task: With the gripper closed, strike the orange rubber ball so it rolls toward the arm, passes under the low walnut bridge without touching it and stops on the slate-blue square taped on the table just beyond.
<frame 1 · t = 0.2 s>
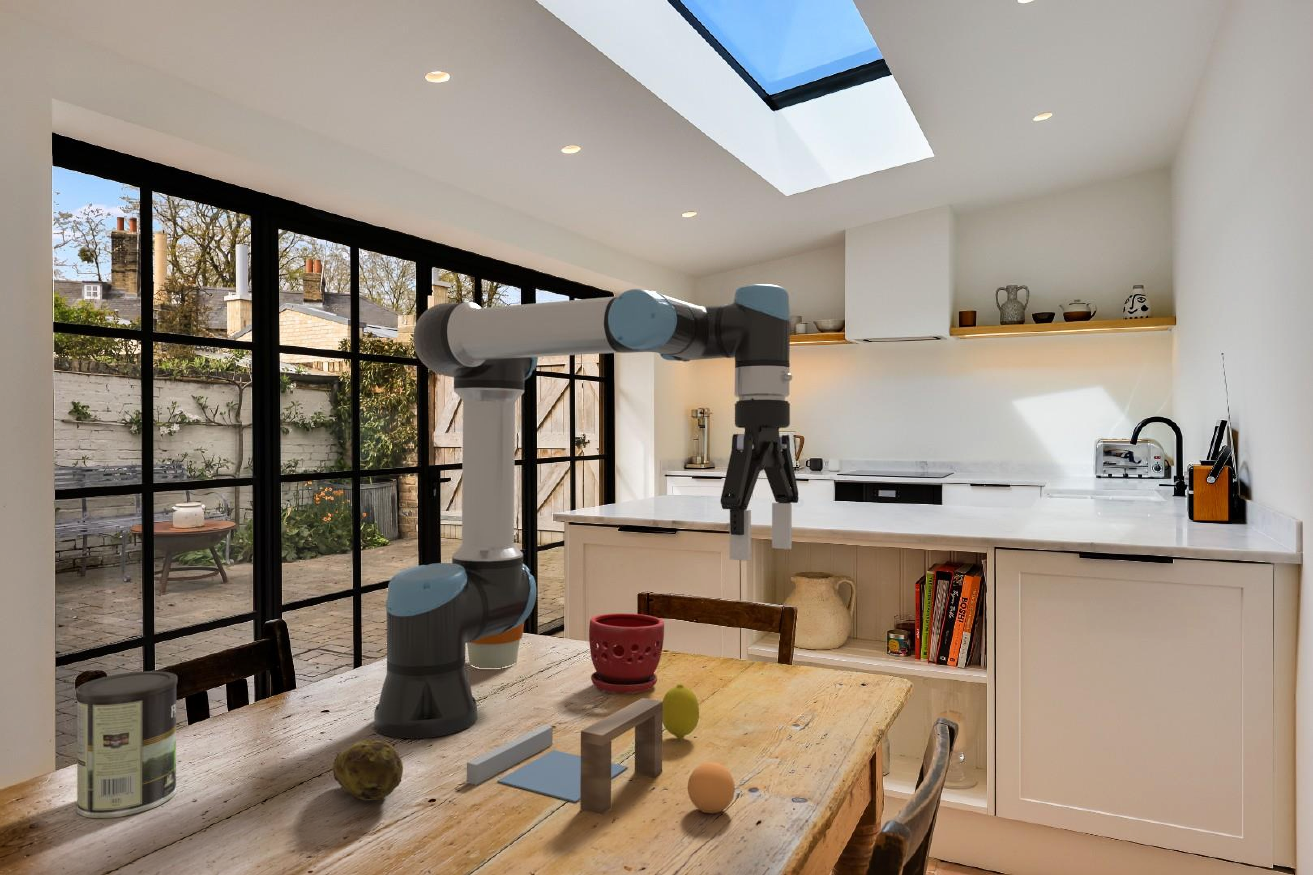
hand: (762, 554, 115), 28 cm above the table, tool pointing down, fingers open, 13 cm apart
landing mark: (564, 774, 108), on the table
bridge: (623, 789, 104), on the table
stopper: (512, 762, 112), on the table
ball: (711, 787, 98), on the table
lemon: (680, 740, 121), on the table
potato: (366, 802, 100), on the table
coffee can: (127, 801, 100), on the table
plant pot: (626, 688, 147), on the table
reusable coffee cup: (493, 664, 161), on the table
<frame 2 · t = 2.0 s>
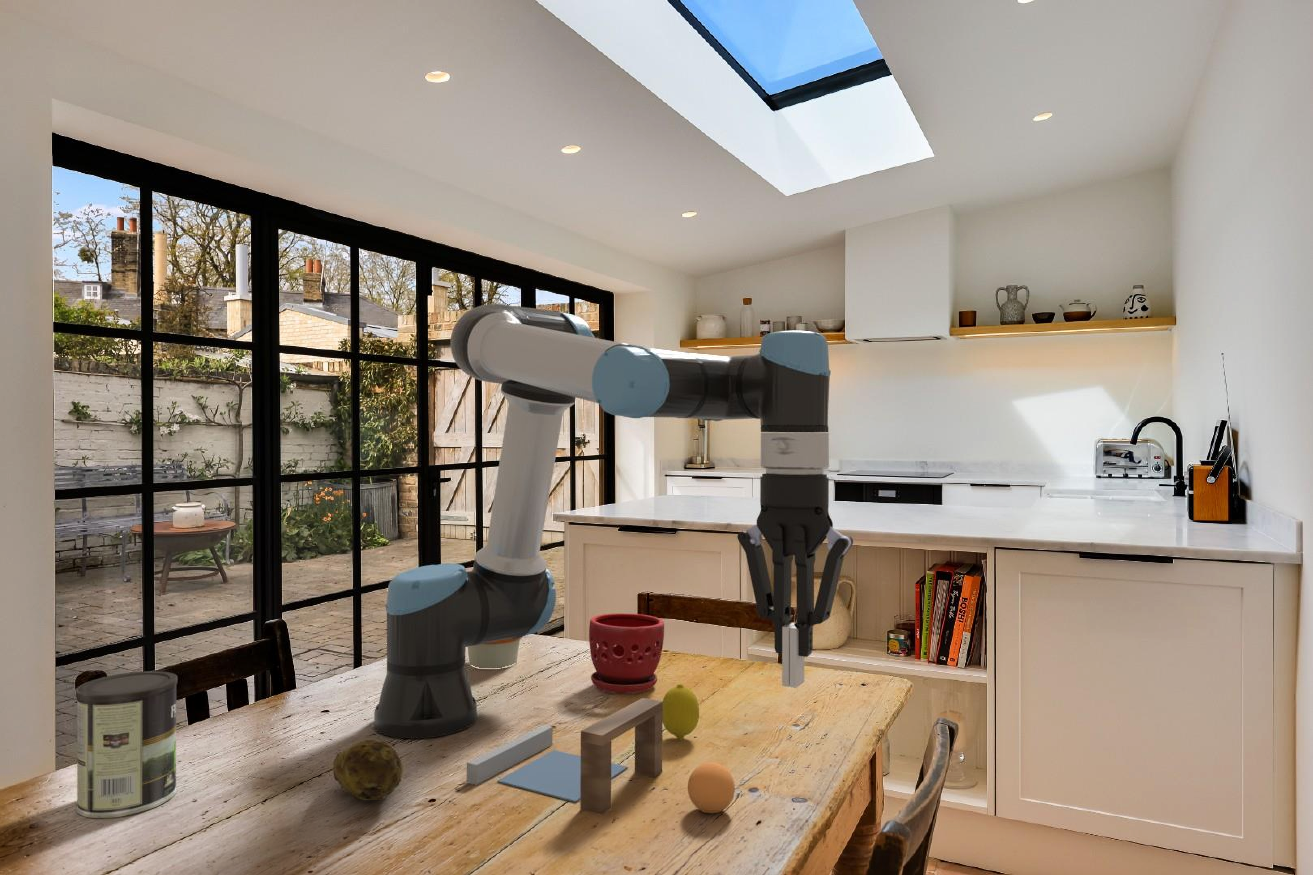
hand: (793, 683, 93), 16 cm above the table, tool pointing down, fingers closed
nothing on the table moved.
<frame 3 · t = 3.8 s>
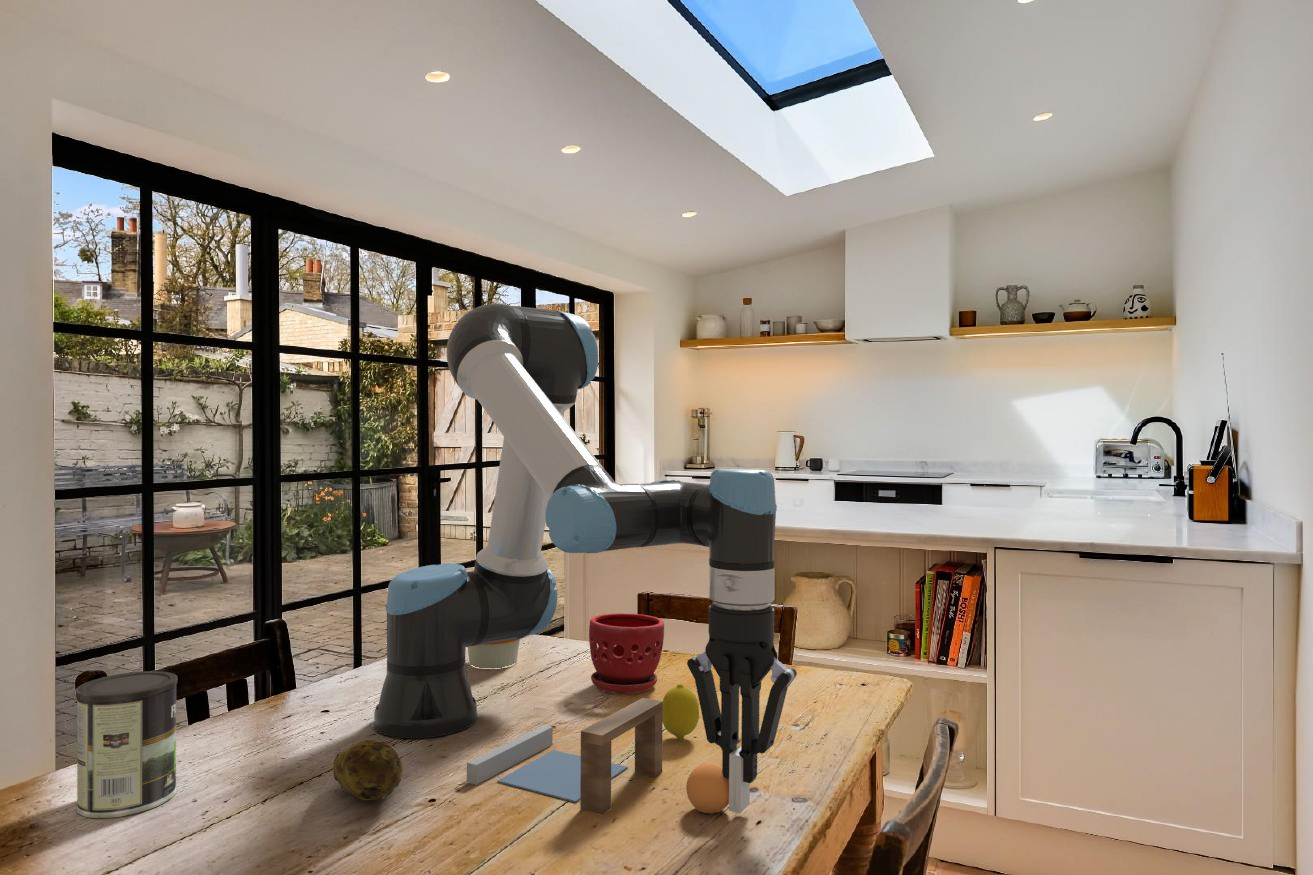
hand: (739, 807, 96), 1 cm above the table, tool pointing down, fingers closed
ball: (709, 787, 98), on the table, touching gripper
everything else where it was.
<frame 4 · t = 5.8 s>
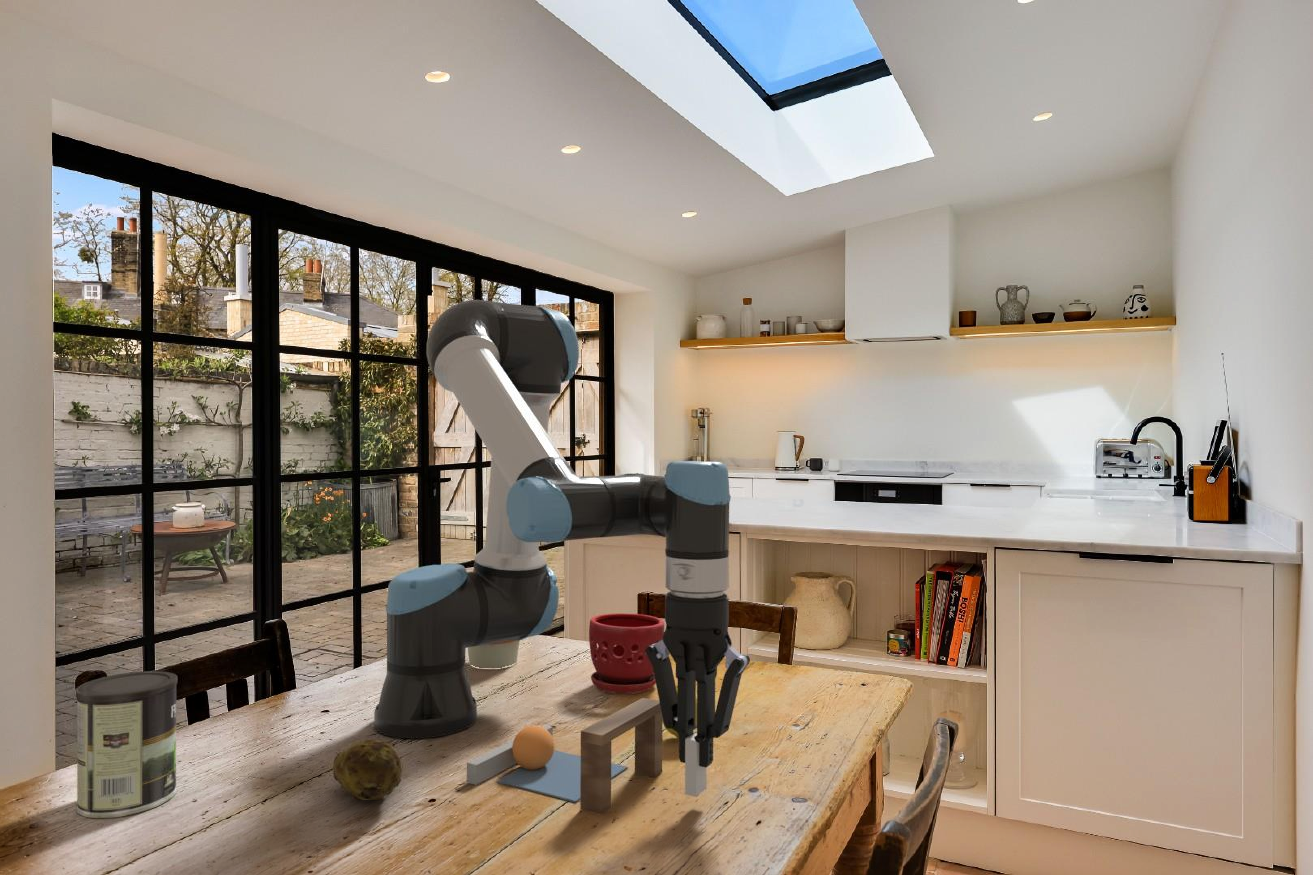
hand: (695, 791, 99), 2 cm above the table, tool pointing down, fingers closed
ball: (533, 747, 110), on the table
everything else where it was.
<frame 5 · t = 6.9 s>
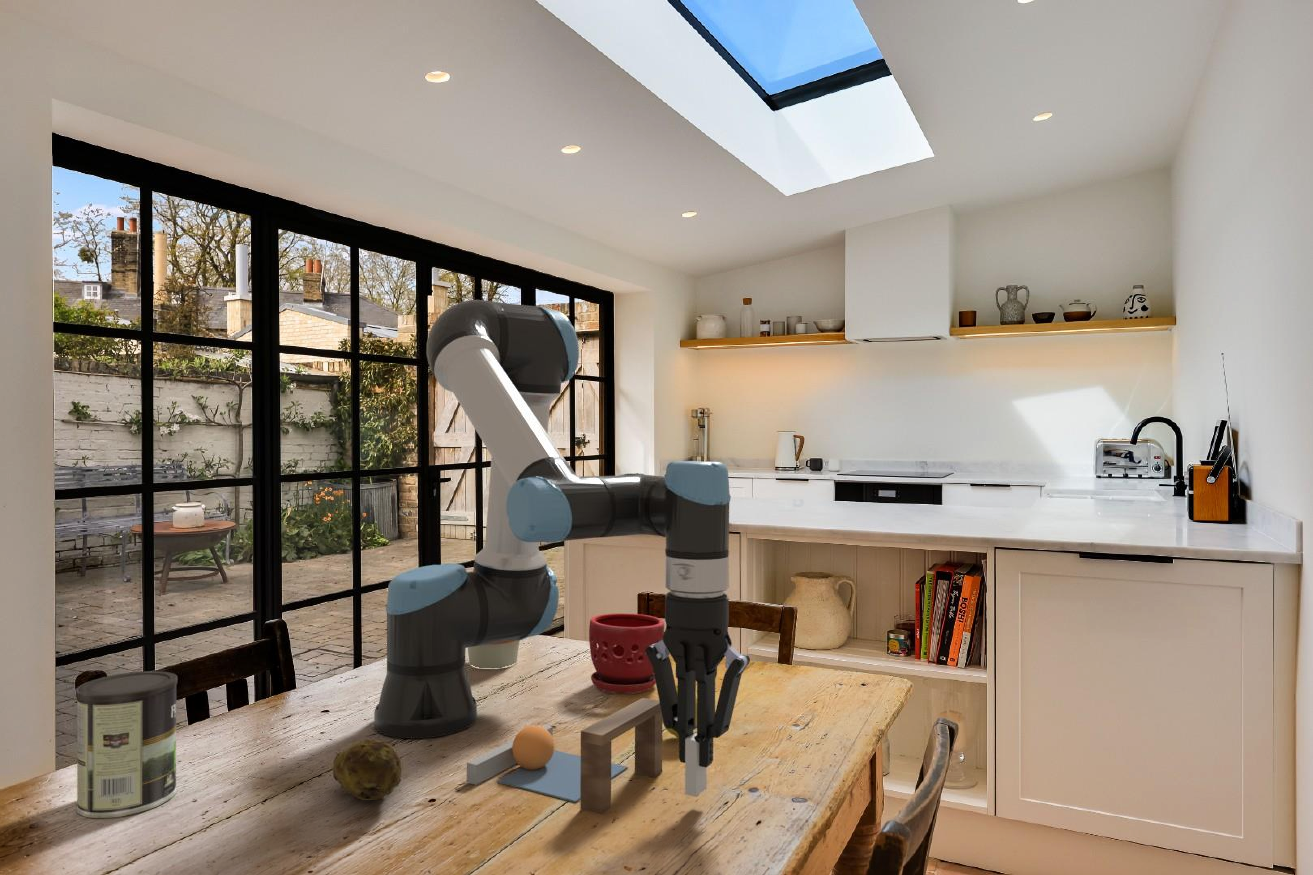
hand: (695, 791, 99), 2 cm above the table, tool pointing down, fingers closed
nothing on the table moved.
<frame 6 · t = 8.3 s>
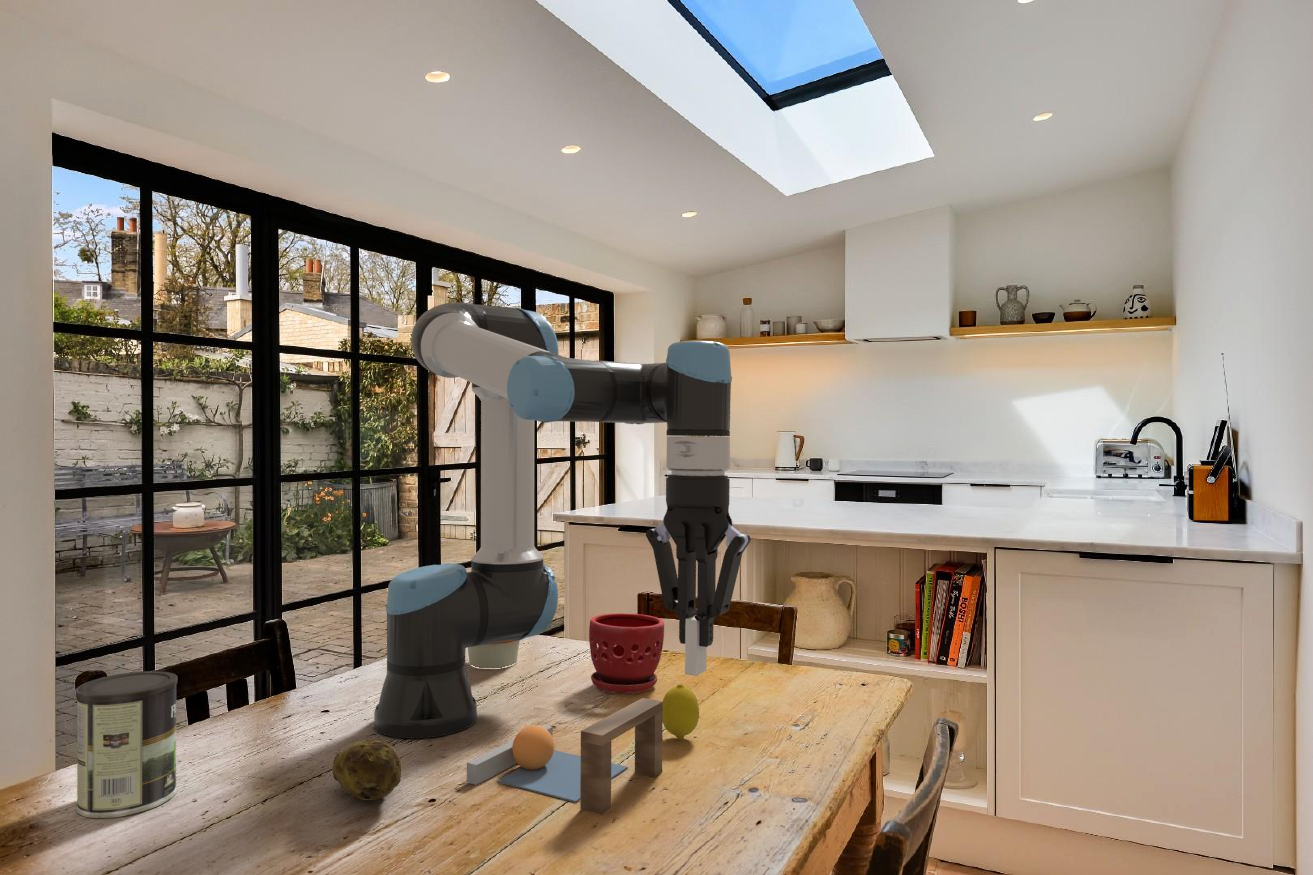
hand: (695, 672, 99), 16 cm above the table, tool pointing down, fingers closed
nothing on the table moved.
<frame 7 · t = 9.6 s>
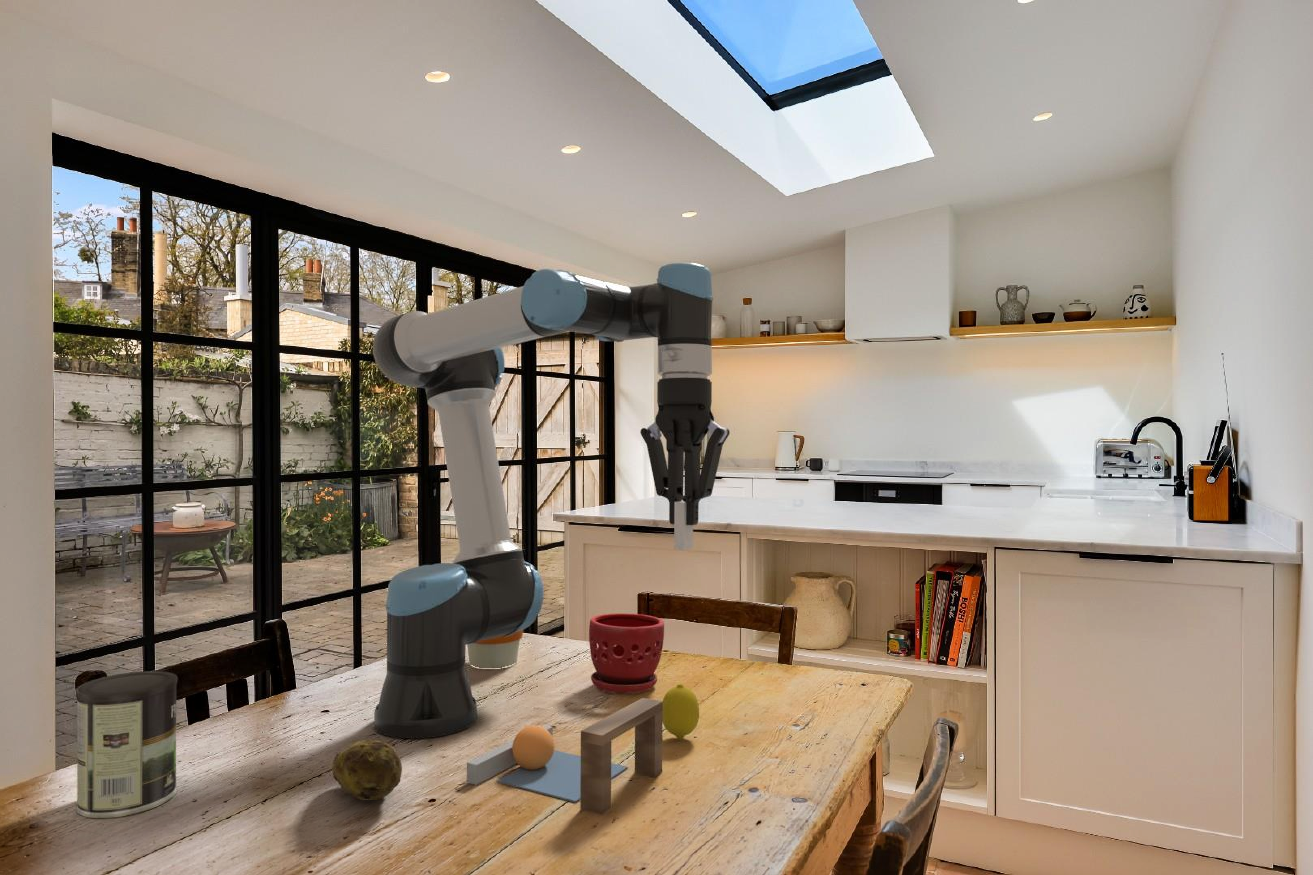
hand: (683, 548, 115), 28 cm above the table, tool pointing down, fingers closed
nothing on the table moved.
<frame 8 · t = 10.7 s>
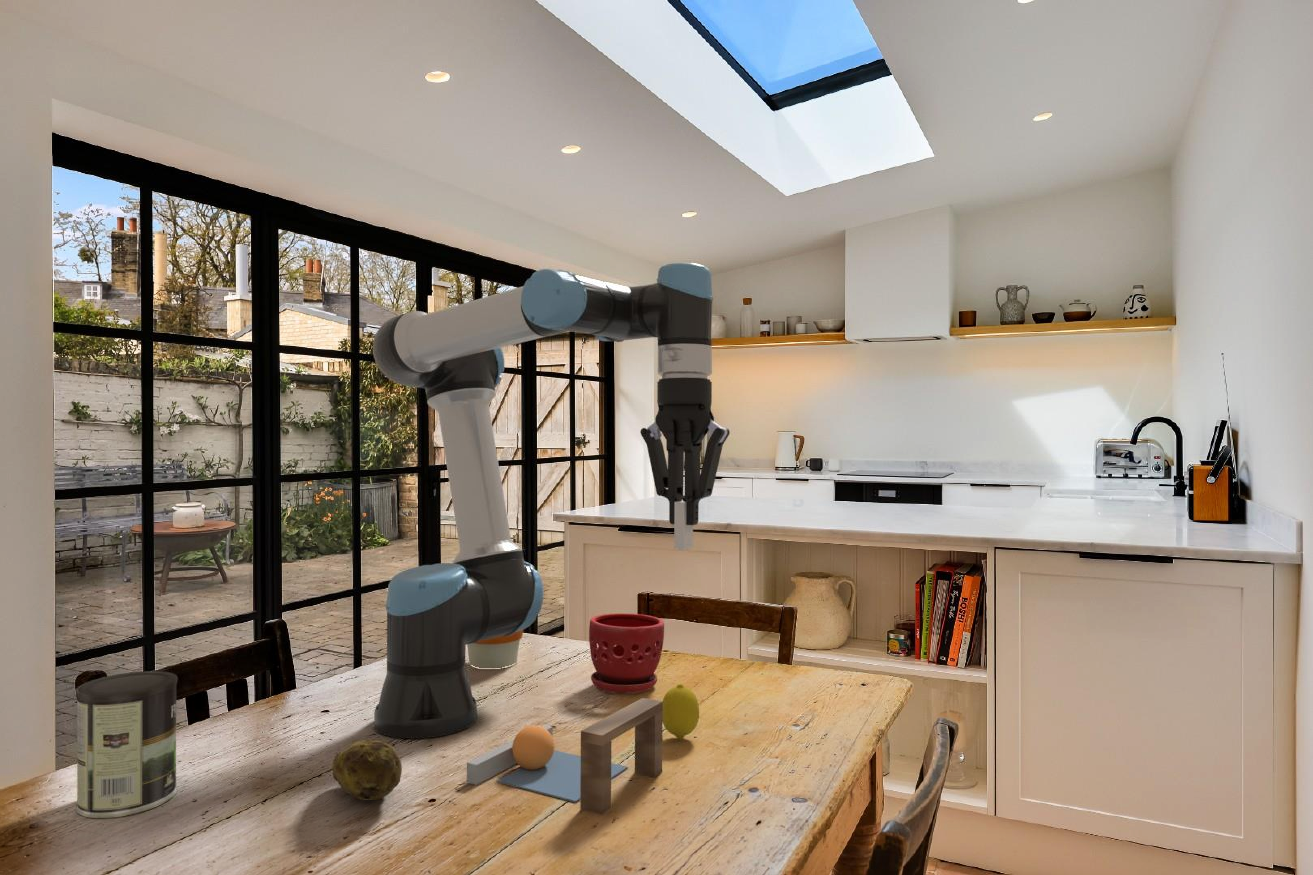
hand: (683, 548, 115), 28 cm above the table, tool pointing down, fingers closed
nothing on the table moved.
at the end: ball 4.8 cm from the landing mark (horizontally); ball never touched bridge; ball at rest at the end (0.0 cm/s) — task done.
